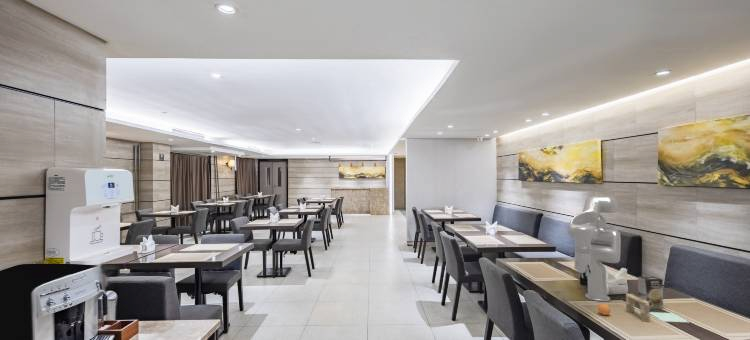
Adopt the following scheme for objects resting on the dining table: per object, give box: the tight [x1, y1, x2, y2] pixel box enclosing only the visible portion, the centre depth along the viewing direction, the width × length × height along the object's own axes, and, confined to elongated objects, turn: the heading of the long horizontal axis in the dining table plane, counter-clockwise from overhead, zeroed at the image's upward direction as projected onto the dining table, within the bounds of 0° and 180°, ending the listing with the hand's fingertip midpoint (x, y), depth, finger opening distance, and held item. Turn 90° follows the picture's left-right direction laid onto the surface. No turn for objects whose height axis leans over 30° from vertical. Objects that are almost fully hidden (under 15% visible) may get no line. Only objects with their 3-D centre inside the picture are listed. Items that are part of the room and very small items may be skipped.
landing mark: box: [649, 311, 690, 323], centre depth 178 cm, size 12×12×1 cm
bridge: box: [625, 293, 651, 323], centre depth 180 cm, size 3×14×9 cm, turn 172°
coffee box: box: [637, 276, 664, 310], centre depth 193 cm, size 9×6×16 cm
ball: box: [597, 303, 611, 316], centre depth 182 cm, size 6×6×6 cm
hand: (583, 285), depth 184 cm, fingers closed
